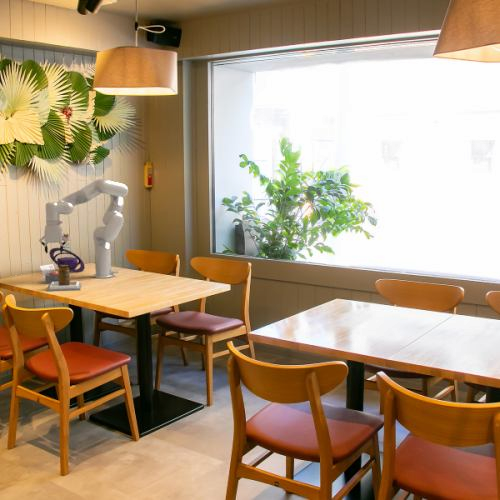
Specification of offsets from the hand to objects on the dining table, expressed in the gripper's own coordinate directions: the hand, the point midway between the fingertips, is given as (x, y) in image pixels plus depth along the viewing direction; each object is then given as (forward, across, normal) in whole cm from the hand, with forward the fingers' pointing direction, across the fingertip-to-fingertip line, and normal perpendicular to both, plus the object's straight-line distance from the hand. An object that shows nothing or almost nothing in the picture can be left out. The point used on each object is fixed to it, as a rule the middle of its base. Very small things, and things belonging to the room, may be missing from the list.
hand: (54, 252), depth 369 cm
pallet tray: (+18, -7, +19) cm, 27 cm away
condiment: (+17, -7, +20) cm, 27 cm away
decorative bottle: (+18, -4, -38) cm, 42 cm away
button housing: (+18, 0, 0) cm, 18 cm away
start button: (+14, 0, 0) cm, 14 cm away
